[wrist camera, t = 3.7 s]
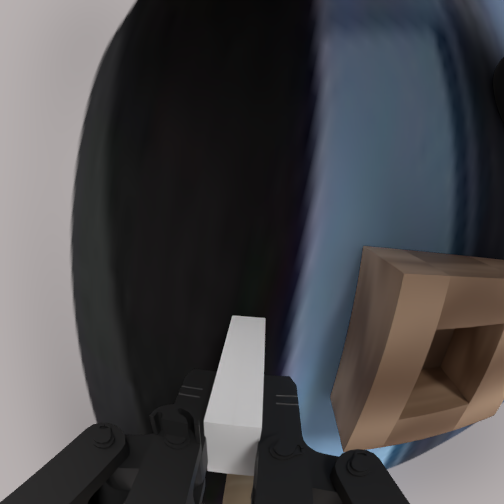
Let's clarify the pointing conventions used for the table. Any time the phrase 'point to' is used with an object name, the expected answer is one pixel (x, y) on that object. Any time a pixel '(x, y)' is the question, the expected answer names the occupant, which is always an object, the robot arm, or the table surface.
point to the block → (420, 347)
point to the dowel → (238, 489)
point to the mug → (499, 87)
